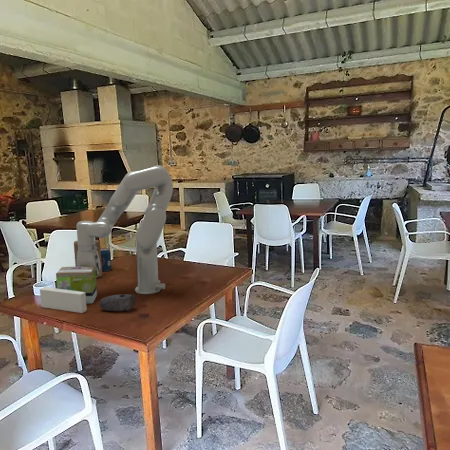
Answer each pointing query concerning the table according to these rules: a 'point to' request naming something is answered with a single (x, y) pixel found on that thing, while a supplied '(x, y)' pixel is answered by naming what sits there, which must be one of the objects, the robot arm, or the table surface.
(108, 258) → the soda can
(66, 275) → the tea box
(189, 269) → the table surface
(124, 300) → the perforated stone tool
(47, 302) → the plank
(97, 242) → the wooden block
